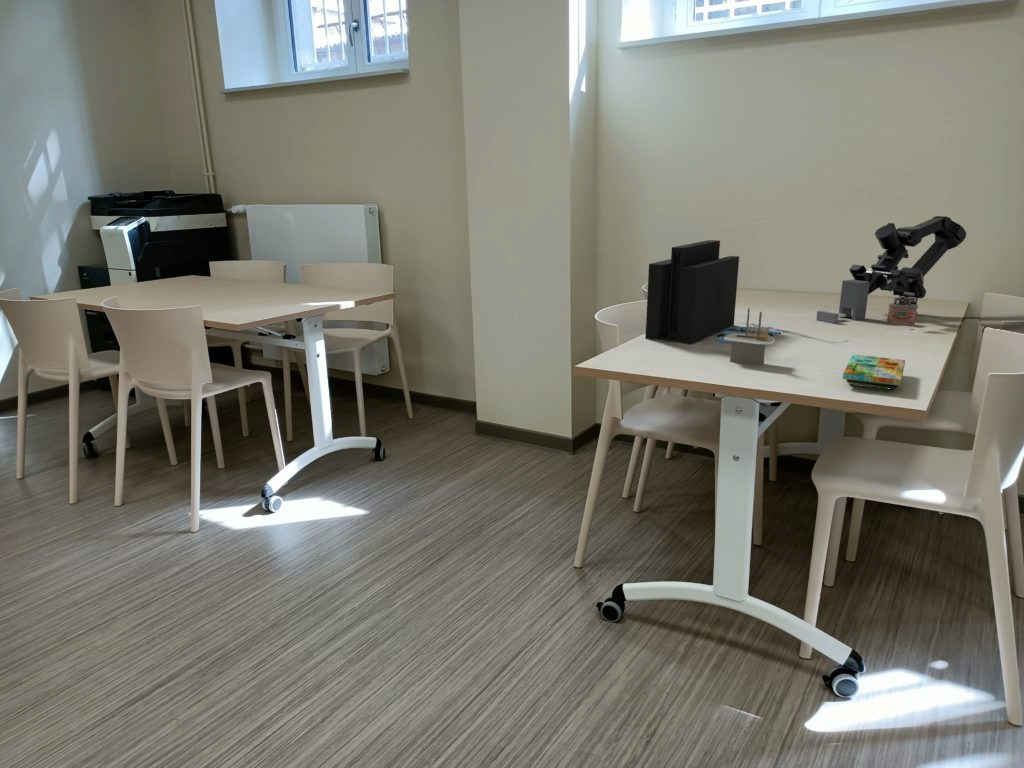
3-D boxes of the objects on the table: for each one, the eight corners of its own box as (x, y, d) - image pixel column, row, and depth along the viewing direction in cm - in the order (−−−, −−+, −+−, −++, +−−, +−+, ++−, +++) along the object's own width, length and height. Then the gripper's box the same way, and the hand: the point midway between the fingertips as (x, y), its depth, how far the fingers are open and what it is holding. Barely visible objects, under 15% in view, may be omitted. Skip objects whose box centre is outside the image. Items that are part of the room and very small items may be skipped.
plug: (848, 315, 249) (852, 279, 245) (864, 318, 243) (869, 281, 240) (838, 317, 246) (842, 280, 243) (854, 320, 241) (859, 282, 238)
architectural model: (711, 350, 209) (715, 300, 205) (806, 361, 197) (811, 308, 193) (687, 366, 192) (690, 312, 188) (789, 380, 179) (795, 321, 176)
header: (833, 318, 245) (834, 308, 244) (850, 321, 240) (851, 311, 239) (816, 320, 241) (817, 311, 241) (833, 324, 236) (834, 314, 235)
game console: (691, 320, 250) (697, 238, 242) (784, 331, 233) (793, 243, 225) (645, 338, 222) (649, 247, 215) (746, 352, 205) (755, 253, 198)
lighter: (885, 328, 237) (889, 296, 234) (886, 326, 239) (890, 294, 237) (914, 330, 233) (919, 298, 230) (914, 328, 236) (919, 296, 233)
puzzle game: (905, 356, 181) (901, 375, 164) (902, 375, 183) (898, 396, 166) (852, 351, 187) (843, 369, 170) (850, 369, 188) (841, 389, 171)
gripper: (925, 278, 244) (899, 315, 242) (873, 272, 260) (848, 306, 257) (914, 255, 238) (887, 292, 236) (861, 250, 254) (836, 285, 252)
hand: (864, 295), depth 245 cm, fingers closed
